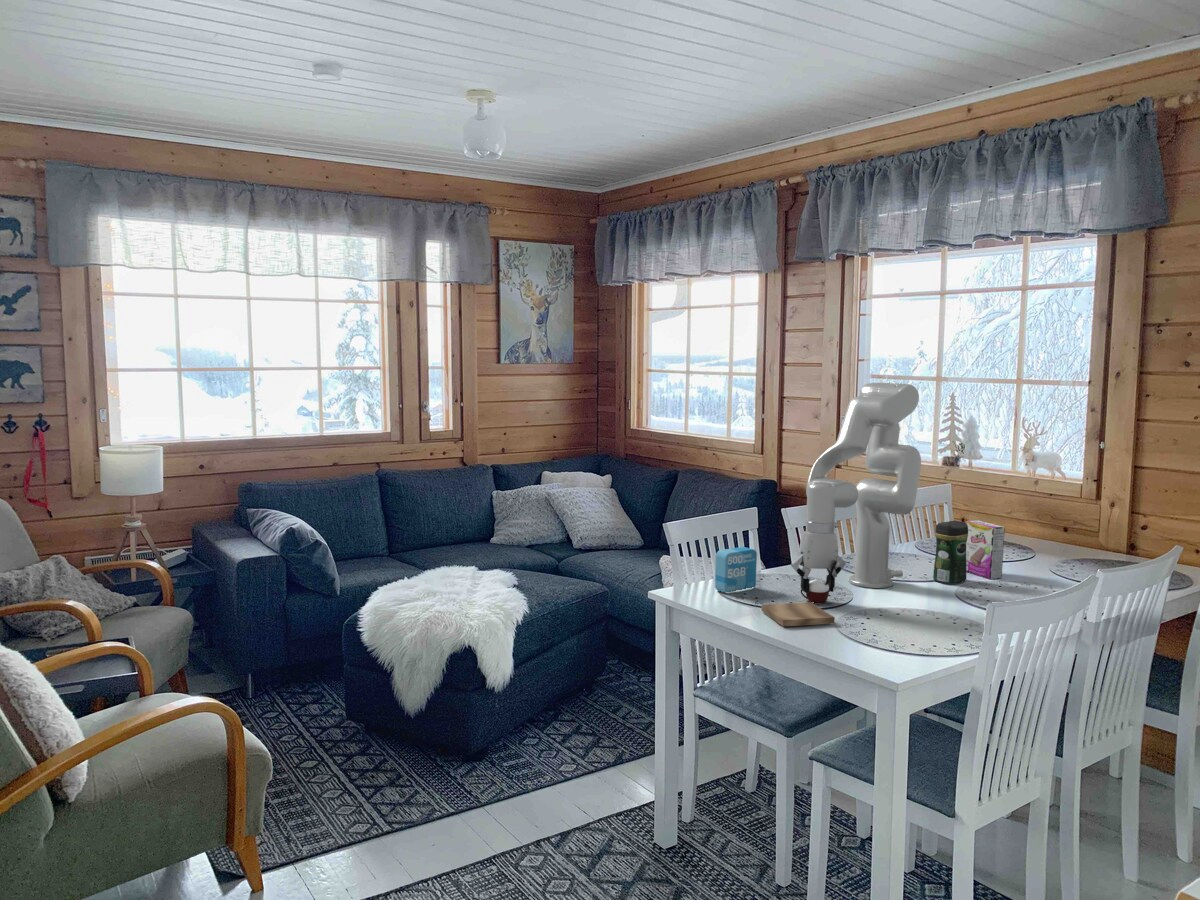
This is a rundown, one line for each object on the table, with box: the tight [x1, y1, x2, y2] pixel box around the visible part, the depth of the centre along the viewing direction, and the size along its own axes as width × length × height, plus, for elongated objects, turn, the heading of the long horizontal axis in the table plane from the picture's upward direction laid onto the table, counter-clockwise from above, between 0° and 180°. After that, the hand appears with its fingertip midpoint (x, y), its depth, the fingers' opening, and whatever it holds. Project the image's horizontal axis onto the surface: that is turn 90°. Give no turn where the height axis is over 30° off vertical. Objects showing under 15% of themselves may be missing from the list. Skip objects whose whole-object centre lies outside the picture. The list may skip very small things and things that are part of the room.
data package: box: [714, 546, 758, 593], centre depth 261 cm, size 12×4×12 cm, turn 123°
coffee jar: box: [932, 519, 968, 585], centre depth 273 cm, size 10×8×19 cm
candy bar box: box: [966, 519, 1006, 580], centre depth 281 cm, size 11×5×16 cm, turn 22°
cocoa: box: [800, 561, 837, 604], centre depth 249 cm, size 10×6×12 cm, turn 42°
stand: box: [761, 601, 835, 628], centre depth 235 cm, size 14×14×2 cm
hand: (817, 590), depth 249 cm, fingers closed on cocoa, 6 cm apart
